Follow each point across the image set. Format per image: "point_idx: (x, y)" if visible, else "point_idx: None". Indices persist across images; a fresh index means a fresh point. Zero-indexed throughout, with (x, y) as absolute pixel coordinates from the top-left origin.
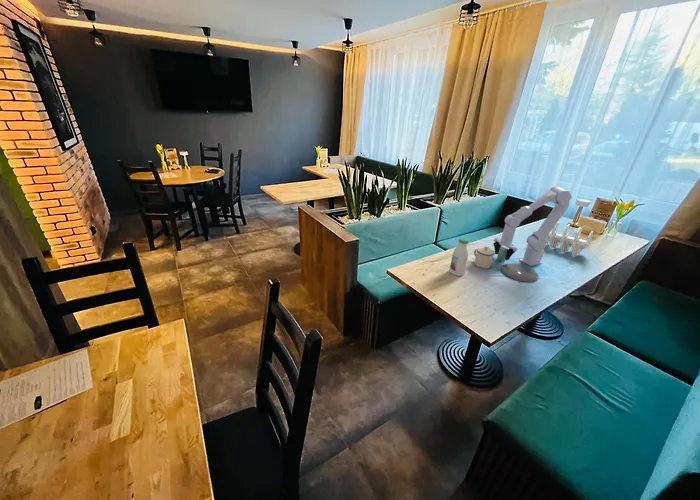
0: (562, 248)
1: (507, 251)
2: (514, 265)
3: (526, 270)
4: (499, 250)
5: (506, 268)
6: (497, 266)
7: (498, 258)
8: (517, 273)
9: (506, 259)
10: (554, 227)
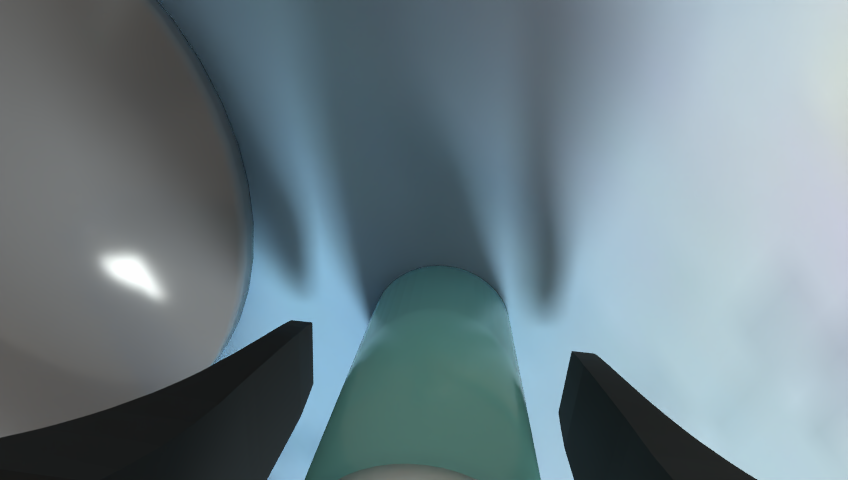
0: None
1: (88, 454)
2: (148, 318)
3: None
4: (495, 424)
5: (80, 72)
6: (274, 38)
7: (447, 285)
8: None
9: (277, 328)
10: None
